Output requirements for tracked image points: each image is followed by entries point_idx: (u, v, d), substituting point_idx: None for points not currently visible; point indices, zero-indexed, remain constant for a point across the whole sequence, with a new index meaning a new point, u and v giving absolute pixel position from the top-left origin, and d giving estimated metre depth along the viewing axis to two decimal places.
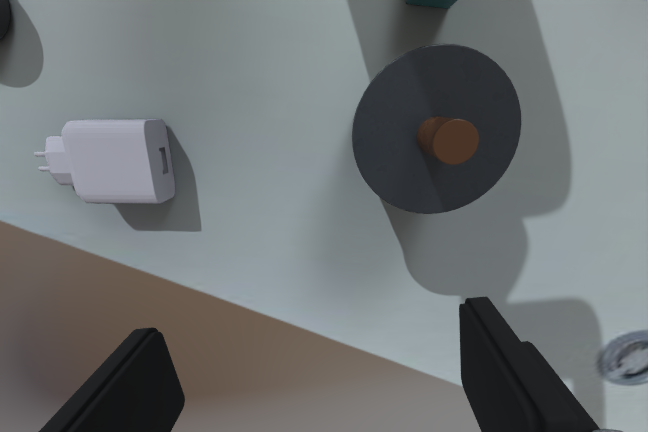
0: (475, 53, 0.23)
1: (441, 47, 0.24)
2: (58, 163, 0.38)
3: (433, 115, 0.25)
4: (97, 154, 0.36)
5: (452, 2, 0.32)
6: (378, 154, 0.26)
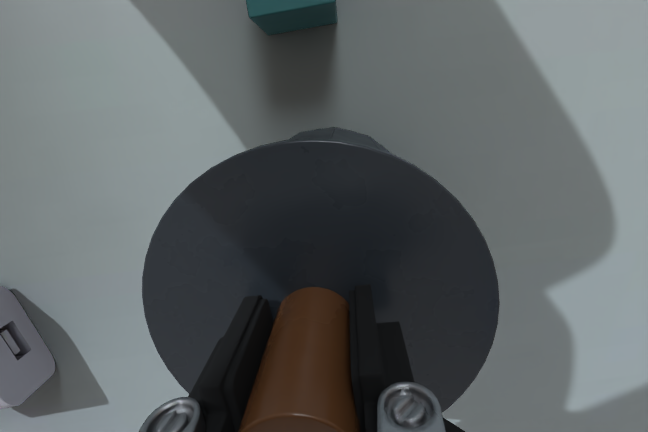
0: (336, 148, 0.10)
1: (256, 155, 0.10)
2: None
3: (296, 286, 0.11)
4: None
5: (331, 15, 0.18)
6: None
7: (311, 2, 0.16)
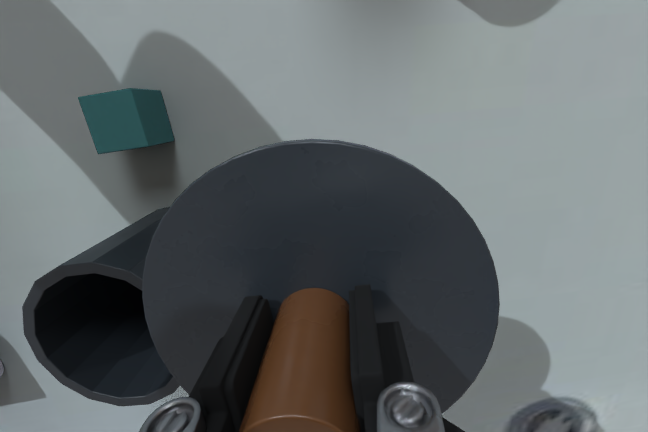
0: (336, 149, 0.10)
1: (256, 156, 0.10)
2: None
3: (296, 287, 0.11)
4: None
5: (160, 143, 0.29)
6: None
7: (134, 146, 0.27)
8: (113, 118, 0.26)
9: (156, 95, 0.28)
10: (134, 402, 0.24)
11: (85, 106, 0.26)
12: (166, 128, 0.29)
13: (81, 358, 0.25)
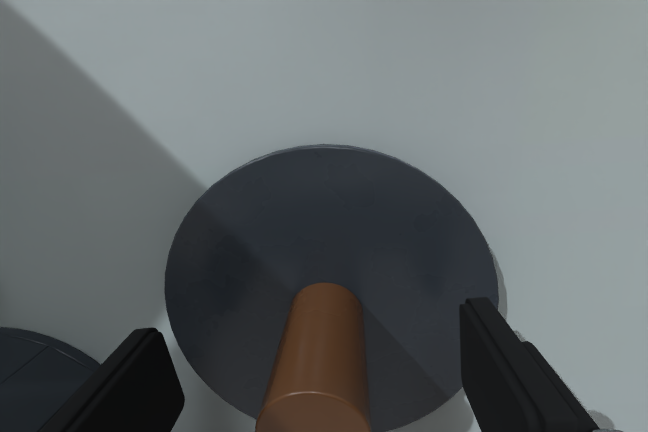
0: (346, 154, 0.11)
1: (273, 160, 0.11)
2: None
3: (308, 282, 0.12)
4: None
5: None
6: (236, 363, 0.14)
7: None
8: None
9: None
10: None
11: None
12: None
13: None
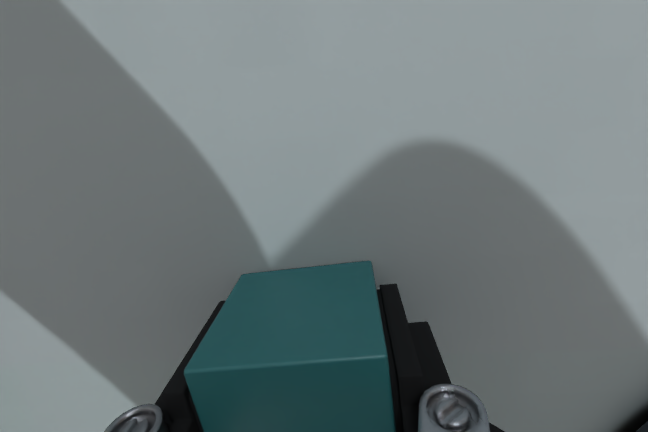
0: None
1: None
2: None
3: None
4: None
5: None
6: None
7: None
8: None
9: None
10: None
11: (208, 397, 0.07)
12: None
13: None
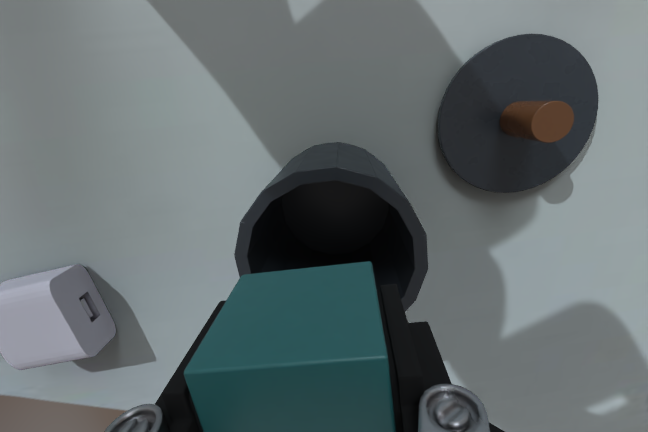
0: (540, 37, 0.26)
1: (507, 40, 0.26)
2: None
3: (511, 101, 0.27)
4: (13, 325, 0.33)
5: None
6: (467, 149, 0.29)
7: None
8: None
9: None
10: None
11: (208, 398, 0.07)
12: None
13: None
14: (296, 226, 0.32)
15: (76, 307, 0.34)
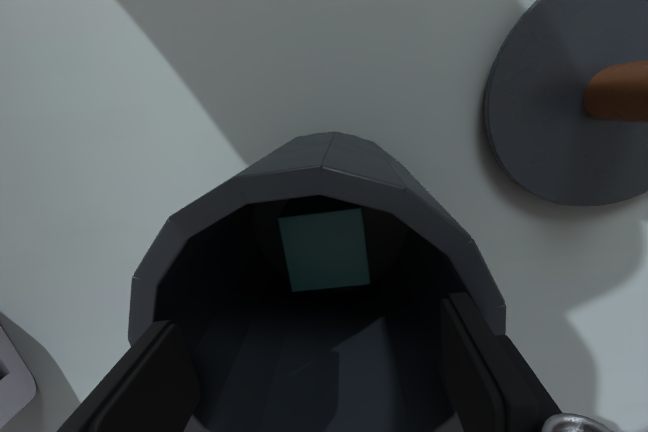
0: None
1: None
2: None
3: (604, 65, 0.17)
4: None
5: None
6: (530, 141, 0.19)
7: (349, 283, 0.18)
8: (325, 247, 0.17)
9: None
10: None
11: (287, 230, 0.17)
12: None
13: (218, 385, 0.13)
14: (274, 253, 0.23)
15: None
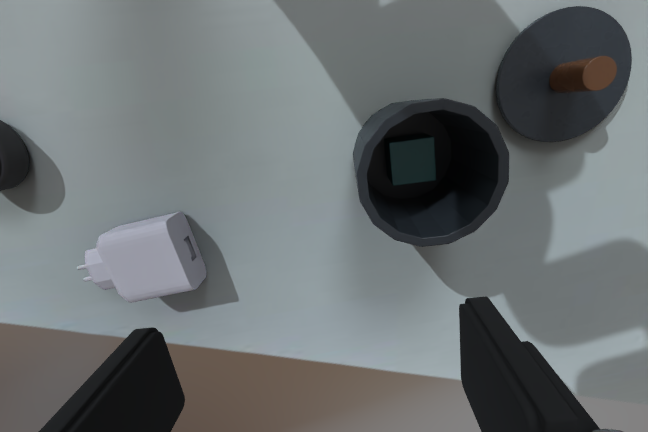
0: (585, 9, 0.32)
1: (558, 12, 0.32)
2: (99, 272, 0.41)
3: (559, 63, 0.33)
4: (131, 259, 0.39)
5: None
6: (521, 104, 0.34)
7: (424, 180, 0.34)
8: (413, 159, 0.33)
9: None
10: (435, 242, 0.28)
11: (393, 149, 0.33)
12: None
13: (377, 209, 0.29)
14: (371, 174, 0.38)
15: (182, 246, 0.40)
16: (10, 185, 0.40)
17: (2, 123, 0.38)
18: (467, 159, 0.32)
